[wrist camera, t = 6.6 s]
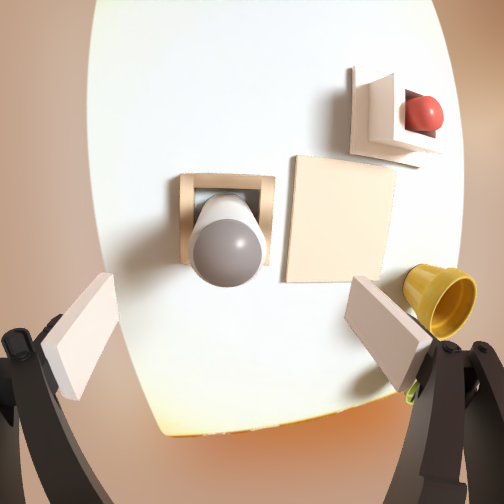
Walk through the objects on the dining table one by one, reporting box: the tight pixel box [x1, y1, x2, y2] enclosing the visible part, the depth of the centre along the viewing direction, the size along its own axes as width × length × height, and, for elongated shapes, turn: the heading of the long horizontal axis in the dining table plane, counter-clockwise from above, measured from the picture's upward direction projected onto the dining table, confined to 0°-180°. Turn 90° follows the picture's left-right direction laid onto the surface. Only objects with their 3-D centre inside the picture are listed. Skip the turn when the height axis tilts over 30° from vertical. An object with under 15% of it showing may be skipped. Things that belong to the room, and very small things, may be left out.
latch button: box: [405, 96, 444, 131], centre depth 26 cm, size 4×4×5 cm
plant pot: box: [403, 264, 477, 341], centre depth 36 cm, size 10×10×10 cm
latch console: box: [349, 66, 444, 168], centre depth 29 cm, size 12×12×7 cm
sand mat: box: [285, 155, 396, 282], centre depth 35 cm, size 16×14×1 cm
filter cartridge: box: [188, 193, 267, 287], centre depth 27 cm, size 6×6×14 cm
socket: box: [180, 173, 275, 266], centre depth 33 cm, size 10×10×2 cm
